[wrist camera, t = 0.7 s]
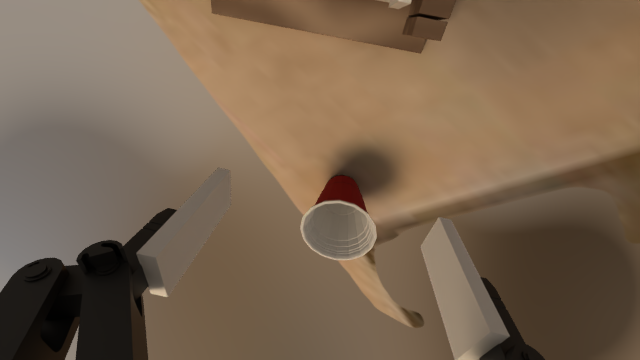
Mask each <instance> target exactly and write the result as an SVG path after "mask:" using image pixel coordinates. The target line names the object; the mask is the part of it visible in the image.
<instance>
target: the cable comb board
mask: <svg viewBox="0 0 640 360" xmlns="http://www.w3.org/2000/svg"><path fill="white" fill-rule="evenodd" d="M455 2H456V0H412V1H411V4H409V5H407V6H404V7H402V8H400V9H395V8H390V7H389V3H388V2H383V1H378V0H211V7H212V13H213V14H218V15H224V16H229V17H234V18H239V19H244V20H250V21H255V22H260V23H265V24H270V25H276V26H281V27H286V28H291V29H296V30H302V31H307V32H312V33H317V34H322V35H328V36H333V37H338V38H343V39H348V40H354V41H359V42H364V43H369V44H374V45H380V46H385V47H390V48H395V49H400V50H406V51H411V52H416V53H421V52H422V50H423V47H424V44H425V41H426V39H431V40H438V41H441V39H442V36H443V34H444V31H445V28H446V26H447V23H448V22H444V21H439V20H442V19H449V18H450V15H451V12H452V10H453V7H454V4H455Z"/></svg>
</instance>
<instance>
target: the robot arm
mask: <svg viewBox="0 0 640 360" xmlns="http://www.w3.org/2000/svg"><path fill="white" fill-rule="evenodd" d="M230 205H231V175H230V170H227V169H222V168H217V170H215V172H213V174H212V175H211V176H210V177H209V178H208V179H207V180H206V181H205V182H204V183H203V184H202V185H201V186H200V187H199V188H198V189H197V190H196V191H195V192H194V193H193V195H191V197H190V198H189V199H188V200H187V201H186V202H185V203H184V204H183V205H182V206H181V207H180V208H179V209H178V210H174V209H170V208H167V209H165V210H164V211H162V212H160V213H158V214H157V215H156V216H155V217H153V218H152V219H151V220H150V222H149V223H147V224H146V225H145V226H144V227H143V229H141V230H140V231H139V232H138V233H137V234H136V235H135V236H134V237H132V238H131V239H130V240H129V241H128V242H127V243H126V244H125V245H124V246H122V244H121V243H119V242H118V241H112V240H108V241H101V242H98V243H95V244H92V245H91V246H89V247H87V248H85V249H84V250H83V251H82V252H81V253H80V254H79V255H78V257H77V260H76V261H77V263H78V264H79V265H72V266H64V264H63V263H62V261H61V260H59V259H57V258H44V259H40V260H37V261H34V262H32V263H29V264H27V265H25V266H24V267H22V268H21V269H19V270H18V271H17V272H16V273H15V274H14V275H13V276H12V277H11V278H10V280H9V281H8V283H7V284H6V286H5V287H4V288H3V290H2V291H1V292H0V360H65V357H66V355H67V353H68V350H69V348H70V345H71V343H72V340H73V338H74V335H75V333H76V331H77V328H78V326H79V332H78V341H77V351H76V360H148V353H147V339H146V327H145V316H144V305H143V296H142V293H143V292H144V290H145V289H146V288H147V287H149V290H150V293H151V294H156V295H160V296H164V297H168V296H169V294H170V293H171V292H172V290H173V289H174V287H175V286H176V284H177V283H178V281H179V280H180V278H181V277H182V275H183V274H184V273H185V271H186V270H187V268H188V267H189V265H190V264H191V262H192V261H193V259H194V258H195V256H196V255H197V254H198V252H199V251H200V249H201V248H202V246H203V245H204V243H205V242H206V240H207V239H208V238H209V236H210V235H211V233H212V232H213V230H214V229H215V227H216V226H217V224H218V223H219V222H220V220H221V219H222V217H223V215H224V214H225V213H226V211H227V210H228V208H229V207H230ZM421 250H422V254H423V257H424V260H425V263H426V266H427V270H428V273H429V277H430V280H431V283H432V287H433V290H434V293H435V296H436V300H437V303H438V306H439V309H440V312H441V316H442V319H443V322H444V326H445V329H446V332H447V336H448V339H449V342H450V346H451V349H452V352H453V356H454V359H455V360H479V359H480V360H545V359H544V358H543V356H542V355H540V354H539V353H538V352H537V351H536V350H535V349H533V348H532V347H530V346H529V345H526V344H525V342H524V340H523V339H522V337H521V335H520V333H519V331H518V329H517V327H516V326H515V324H514V322H513V320H512V318H511V316H510V314H509V313H508V311H507V310H506V307H505V305H504V304H503V302H502V301H501V298H500V296H499V294H498V292H497V291H496V289H495V287H494V286H493V285H492V284H491V283H490V282H489V281H488V280H487V279H486V278H482V277H480V276H479V274H478V272H477V270H476V268H475V266H474V264H473V262H472V260H471V258H470V256H469V254H468V252H467V250H466V248H465V246H464V244H463V242H462V240H461V238H460V236H459V234H458V232H457V230H456V228H455V227H454V225H453V223H452V221H451V220H450V219H445V218H441V217H439V218H438V219H437V221H436V223H435V224H434V226H433V227H432V229H431V231H430V232H429V234H428V235H427V237H426V239H425V240H424V242H423V243H422V245H421Z"/></svg>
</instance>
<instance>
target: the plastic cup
mask: <svg viewBox="0 0 640 360" xmlns="http://www.w3.org/2000/svg"><path fill="white" fill-rule="evenodd" d="M300 228H301V232H302V236H303V239H304V241H305V242H306V243H307V244H308V246H309V247H310V248H311V249H312V250H313V251H315V252H317V253H318V254H320V255H321V256H323V257H327V258H330V259H334V260H352V259H355V258H358V257H361V256H363V255H364V254H366V253H367V252H368V251H369V250H370V249H372V247H373V245H374V242H375V240H376V238H377V236H376V226H375V224H374V222H373V220H372V219H371V217H370V216H369V214H368V212H367V210H366V207H365V204H364V201H363V198H362V195H361V193H360V191H359V188H358V185H357V184H356V182H355V181H354V180H353V179H352V178H350V177H348V176H344V175H340V176H335V177H333V178H331V179H330V180H329V182H328V183H327V184H326V186H325V188H324V190H323V191H322V193H321V195H320V196H319V198H318V200H317V202H316V204H315V205H314V206H312V207H311V208H310V209H309V210H308V211H307V213H306V214H305V215H304V216H303V218H302V223H301V227H300Z"/></svg>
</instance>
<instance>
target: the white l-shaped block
mask: <svg viewBox="0 0 640 360" xmlns="http://www.w3.org/2000/svg"><path fill="white" fill-rule="evenodd" d="M378 1H383V2H388V3H389V7H390V8H395V9H400V8H402V7H404V6H407V5H409V4H411V1H412V0H378Z"/></svg>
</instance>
